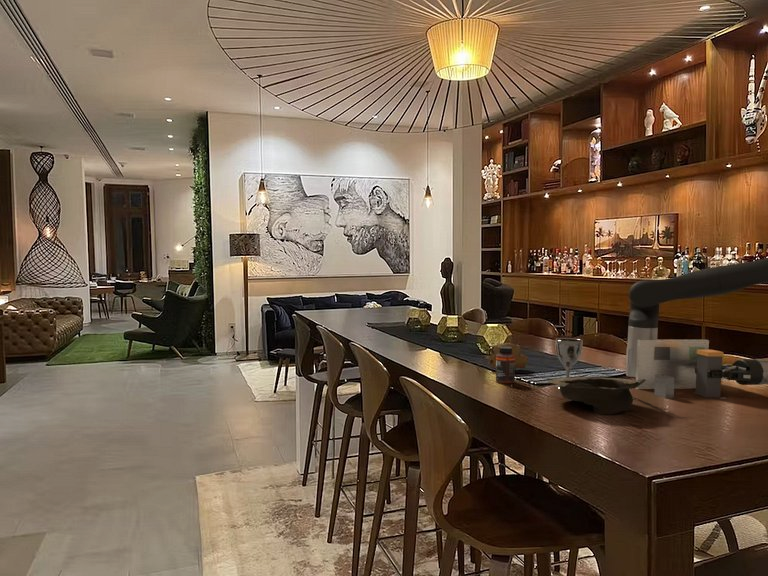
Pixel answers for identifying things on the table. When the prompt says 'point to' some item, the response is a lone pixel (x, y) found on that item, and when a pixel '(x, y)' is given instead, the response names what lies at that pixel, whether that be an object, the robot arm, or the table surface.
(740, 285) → the robot arm
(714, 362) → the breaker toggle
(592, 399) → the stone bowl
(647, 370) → the white upright board
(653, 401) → the table surface
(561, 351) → the wine glass
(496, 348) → the wooden carving
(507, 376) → the supplement bottle
